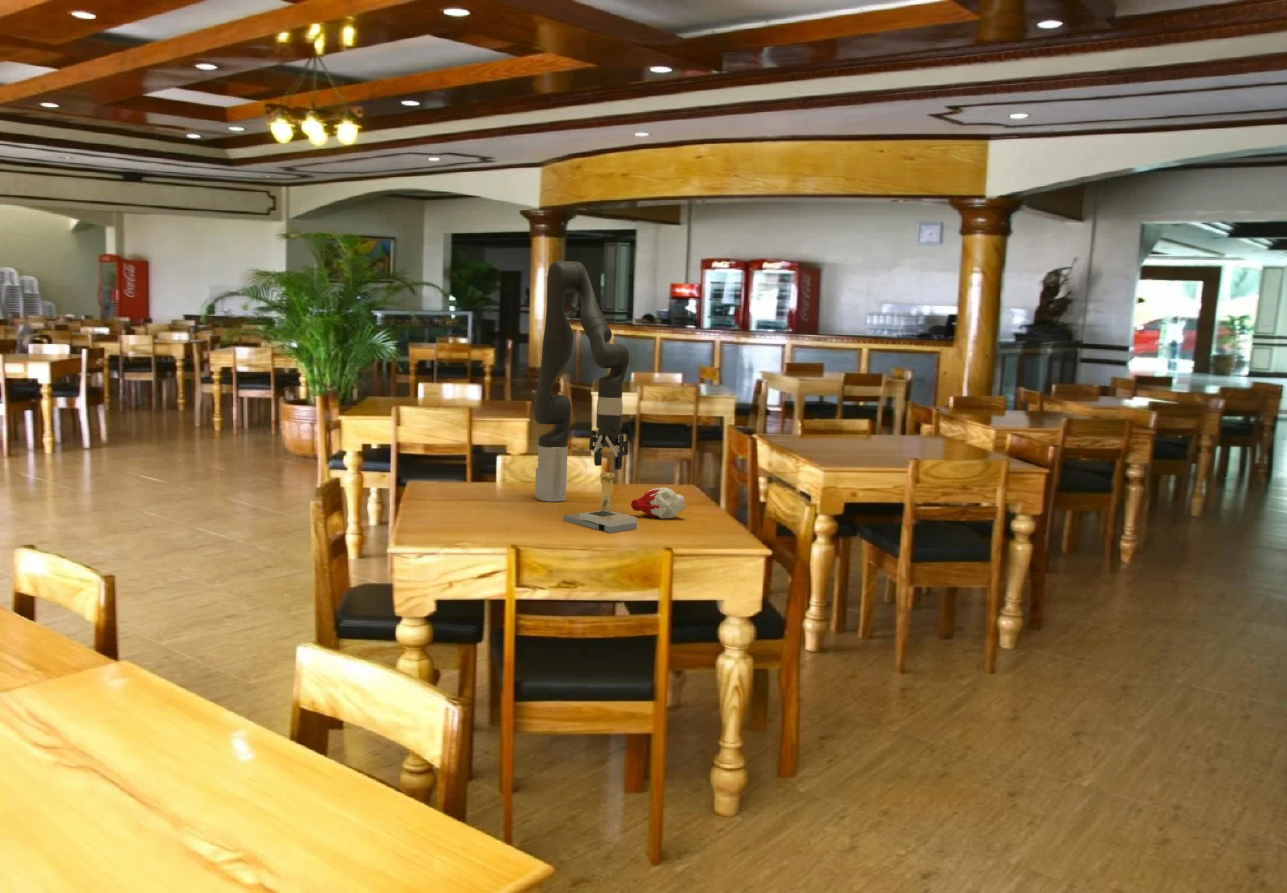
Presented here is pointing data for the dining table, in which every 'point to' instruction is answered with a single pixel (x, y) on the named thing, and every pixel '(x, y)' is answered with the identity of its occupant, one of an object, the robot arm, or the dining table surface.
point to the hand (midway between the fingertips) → (607, 467)
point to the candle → (660, 503)
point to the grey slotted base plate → (603, 520)
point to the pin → (607, 490)
